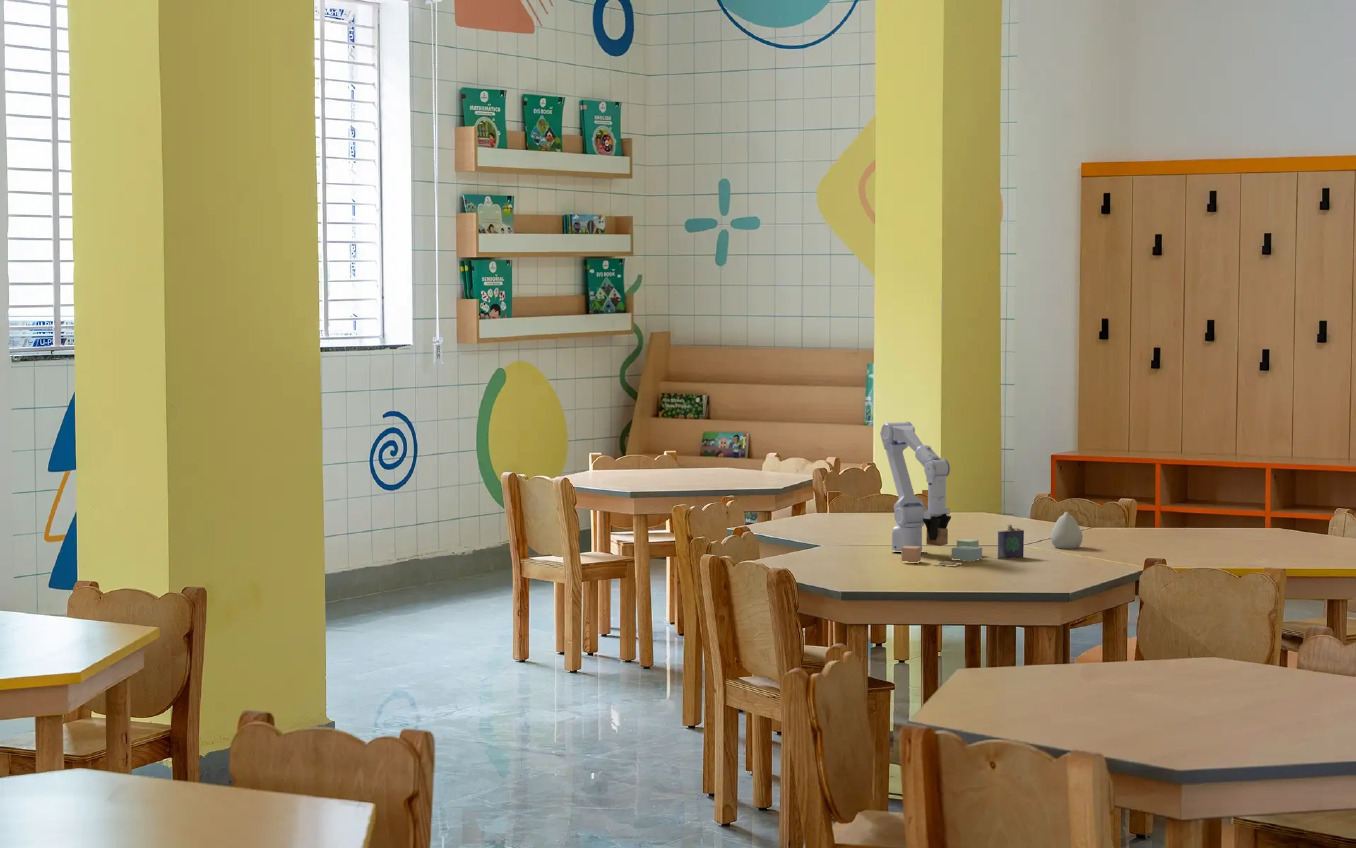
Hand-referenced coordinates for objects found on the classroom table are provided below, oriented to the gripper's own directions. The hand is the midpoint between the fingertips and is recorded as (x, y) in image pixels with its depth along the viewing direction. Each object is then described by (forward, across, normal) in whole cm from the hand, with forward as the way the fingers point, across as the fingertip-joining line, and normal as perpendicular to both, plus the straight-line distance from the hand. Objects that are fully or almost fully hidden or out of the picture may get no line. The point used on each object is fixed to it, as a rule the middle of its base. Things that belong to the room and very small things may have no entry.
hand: (936, 538), depth 466 cm
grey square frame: (+6, -10, -9) cm, 15 cm away
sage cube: (+6, +12, -5) cm, 15 cm away
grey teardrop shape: (+7, +46, -25) cm, 53 cm away
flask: (+6, +14, -19) cm, 25 cm away
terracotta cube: (+6, -12, +3) cm, 14 cm away
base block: (+7, +3, -9) cm, 12 cm away
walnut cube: (+2, 0, 0) cm, 2 cm away
